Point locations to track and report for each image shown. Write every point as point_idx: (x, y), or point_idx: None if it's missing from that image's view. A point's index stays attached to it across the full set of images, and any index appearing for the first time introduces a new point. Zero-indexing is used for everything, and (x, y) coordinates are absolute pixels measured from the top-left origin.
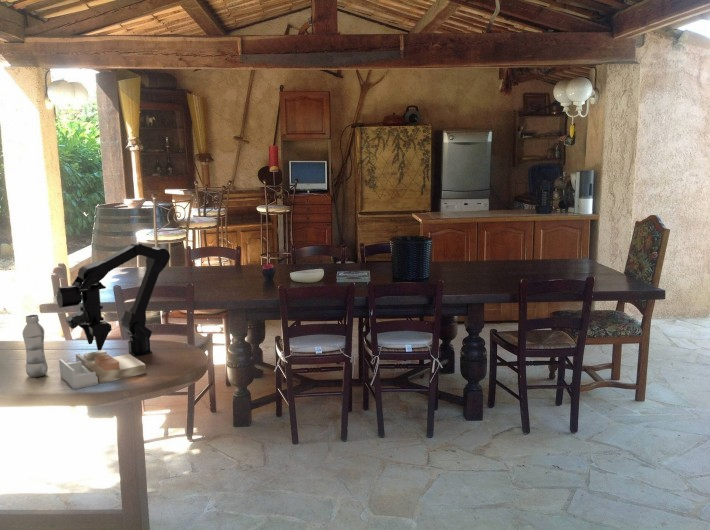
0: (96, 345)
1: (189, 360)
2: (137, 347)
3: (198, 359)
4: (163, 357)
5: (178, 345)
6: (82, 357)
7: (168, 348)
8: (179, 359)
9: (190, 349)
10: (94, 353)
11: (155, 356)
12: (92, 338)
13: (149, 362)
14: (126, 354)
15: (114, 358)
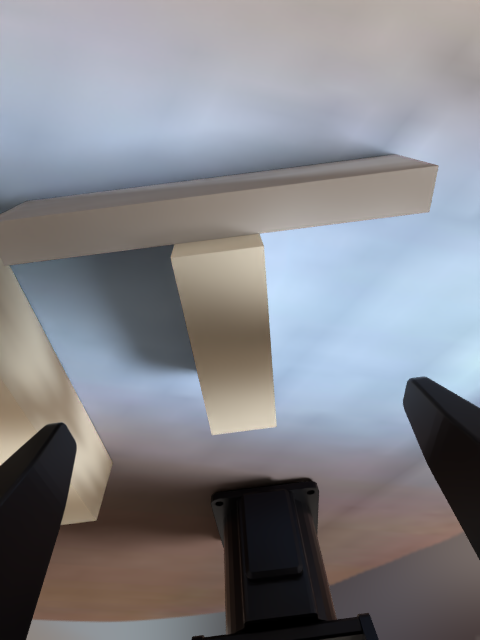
0: (17, 479)
1: (39, 601)
2: (232, 551)
3: (41, 615)
4: (126, 558)
5: None
6: (242, 217)
7: None
8: (67, 586)
9: (188, 610)
10: (212, 350)
11: (160, 542)
12: (440, 472)
13: None
14: (89, 509)
15: (2, 450)
